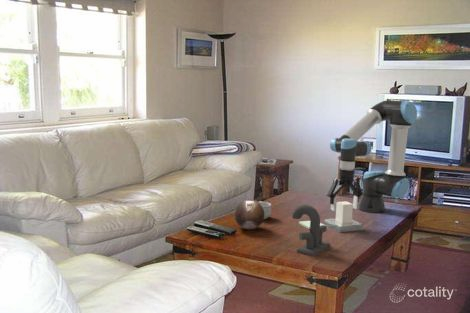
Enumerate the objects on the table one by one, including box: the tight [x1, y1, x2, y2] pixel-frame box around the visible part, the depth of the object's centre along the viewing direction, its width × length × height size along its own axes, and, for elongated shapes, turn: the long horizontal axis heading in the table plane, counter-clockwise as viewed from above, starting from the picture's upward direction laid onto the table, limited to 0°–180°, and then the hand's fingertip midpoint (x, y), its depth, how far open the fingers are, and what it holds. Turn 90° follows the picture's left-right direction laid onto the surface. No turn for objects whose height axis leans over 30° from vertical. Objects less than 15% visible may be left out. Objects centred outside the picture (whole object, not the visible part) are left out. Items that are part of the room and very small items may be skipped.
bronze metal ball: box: [234, 199, 265, 230], centre depth 264 cm, size 15×15×15 cm
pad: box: [298, 220, 326, 230], centre depth 274 cm, size 10×10×1 cm
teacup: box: [257, 200, 272, 220], centre depth 286 cm, size 14×11×8 cm
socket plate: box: [323, 217, 364, 233], centre depth 272 cm, size 14×14×3 cm
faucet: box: [291, 204, 331, 257], centre depth 238 cm, size 18×16×20 cm
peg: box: [335, 200, 354, 224], centre depth 271 cm, size 6×6×13 cm
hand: (344, 209), depth 270 cm, fingers open, 13 cm apart
